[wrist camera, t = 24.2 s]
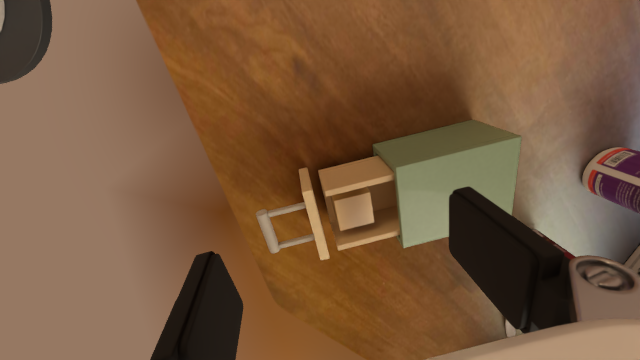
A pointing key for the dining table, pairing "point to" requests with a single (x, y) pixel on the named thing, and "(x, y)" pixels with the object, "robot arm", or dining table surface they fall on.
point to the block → (353, 208)
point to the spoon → (509, 329)
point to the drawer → (333, 182)
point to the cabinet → (448, 173)
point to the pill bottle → (615, 177)
